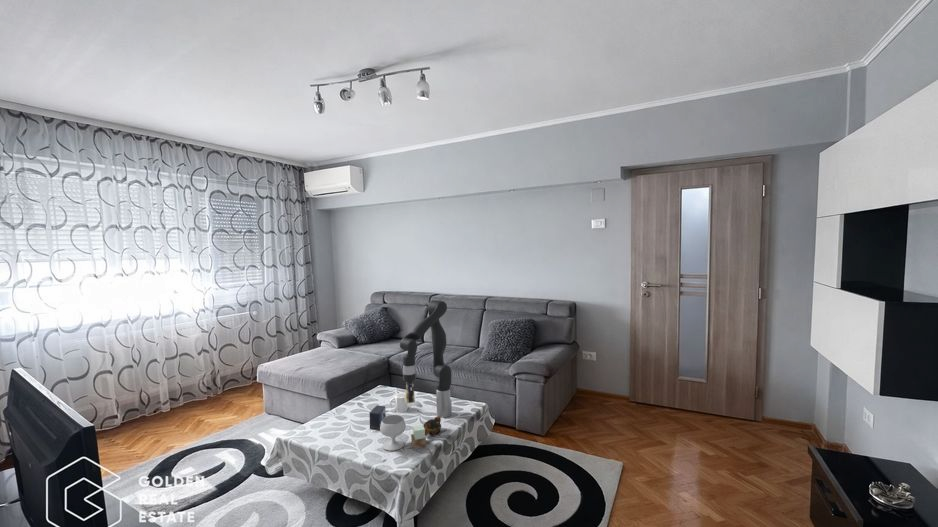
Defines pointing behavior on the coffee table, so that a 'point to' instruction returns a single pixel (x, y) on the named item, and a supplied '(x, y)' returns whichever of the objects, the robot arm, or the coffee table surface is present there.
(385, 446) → the chalice
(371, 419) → the small box
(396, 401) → the mug
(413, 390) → the oak block
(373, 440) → the coffee table surface
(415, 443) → the tower slab
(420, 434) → the tower cube
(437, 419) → the decorative turtle
